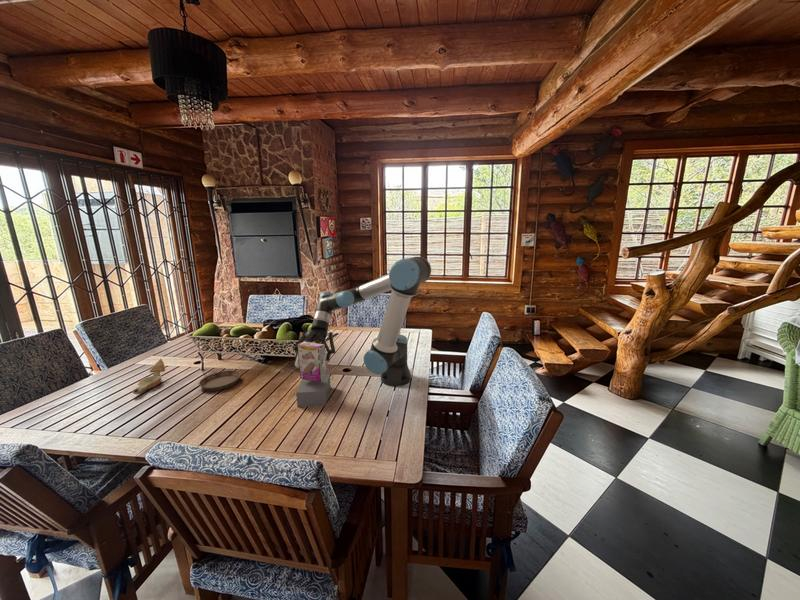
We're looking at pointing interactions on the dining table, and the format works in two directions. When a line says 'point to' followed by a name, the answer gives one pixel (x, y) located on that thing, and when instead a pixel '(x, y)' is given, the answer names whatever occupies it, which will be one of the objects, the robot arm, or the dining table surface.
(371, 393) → the dining table surface
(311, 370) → the candy bar box
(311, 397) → the charcoal block
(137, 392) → the oil lamp
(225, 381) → the plant saucer
